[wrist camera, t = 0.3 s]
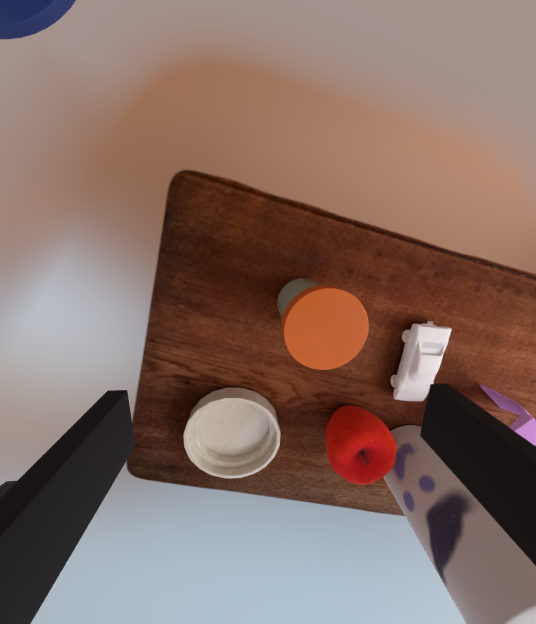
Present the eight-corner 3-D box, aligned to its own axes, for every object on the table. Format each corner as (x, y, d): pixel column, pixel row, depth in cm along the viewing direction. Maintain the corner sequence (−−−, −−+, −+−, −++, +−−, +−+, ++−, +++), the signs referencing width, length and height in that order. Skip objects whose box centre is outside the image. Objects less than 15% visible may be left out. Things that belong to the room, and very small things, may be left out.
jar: (267, 296, 32) (274, 319, 22) (310, 267, 31) (339, 277, 21) (294, 336, 34) (312, 375, 23) (335, 309, 33) (373, 337, 23)
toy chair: (508, 408, 39) (661, 504, 24) (464, 444, 40) (584, 556, 26) (480, 377, 37) (626, 461, 23) (434, 416, 38) (545, 518, 24)
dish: (170, 416, 36) (163, 431, 33) (245, 368, 34) (244, 380, 31) (224, 474, 39) (222, 492, 36) (294, 432, 38) (297, 448, 35)
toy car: (384, 394, 37) (397, 408, 34) (405, 316, 34) (421, 324, 31) (419, 396, 37) (435, 410, 34) (442, 320, 34) (462, 328, 31)
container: (387, 418, 38) (528, 596, 19) (444, 430, 39) (631, 609, 20) (364, 469, 40) (468, 675, 21) (418, 480, 41) (563, 683, 22)
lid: (265, 313, 23) (266, 319, 21) (335, 267, 22) (342, 269, 20) (307, 374, 25) (311, 384, 23) (373, 333, 24) (383, 340, 22)
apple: (305, 412, 37) (318, 455, 29) (356, 382, 36) (384, 418, 28) (333, 452, 39) (353, 502, 31) (382, 424, 38) (415, 468, 31)
